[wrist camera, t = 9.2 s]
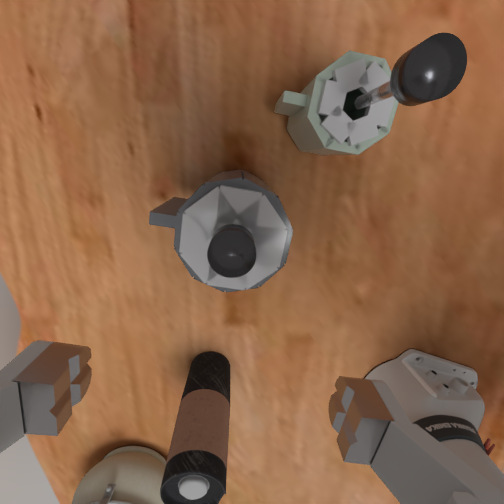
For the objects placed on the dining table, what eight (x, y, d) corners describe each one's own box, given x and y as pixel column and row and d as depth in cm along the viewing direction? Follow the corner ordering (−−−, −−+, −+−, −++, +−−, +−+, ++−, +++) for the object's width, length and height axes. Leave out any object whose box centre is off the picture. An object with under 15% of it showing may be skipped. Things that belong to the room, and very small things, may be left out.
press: (276, 175, 39) (305, 189, 22) (263, 244, 43) (278, 303, 25) (185, 158, 38) (139, 159, 21) (178, 231, 41) (134, 284, 24)
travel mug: (182, 357, 49) (146, 482, 30) (223, 344, 49) (211, 464, 30) (199, 388, 52) (175, 522, 33) (237, 377, 51) (235, 506, 32)
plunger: (252, 205, 32) (260, 235, 20) (247, 234, 33) (252, 281, 21) (222, 200, 32) (210, 227, 19) (218, 229, 33) (204, 274, 20)
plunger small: (381, 87, 23) (476, 39, 14) (370, 124, 24) (452, 104, 15) (348, 79, 23) (422, 26, 14) (338, 118, 24) (401, 93, 15)
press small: (353, 95, 36) (415, 61, 23) (336, 158, 39) (385, 159, 26) (277, 79, 35) (298, 34, 22) (265, 144, 38) (278, 138, 25)
